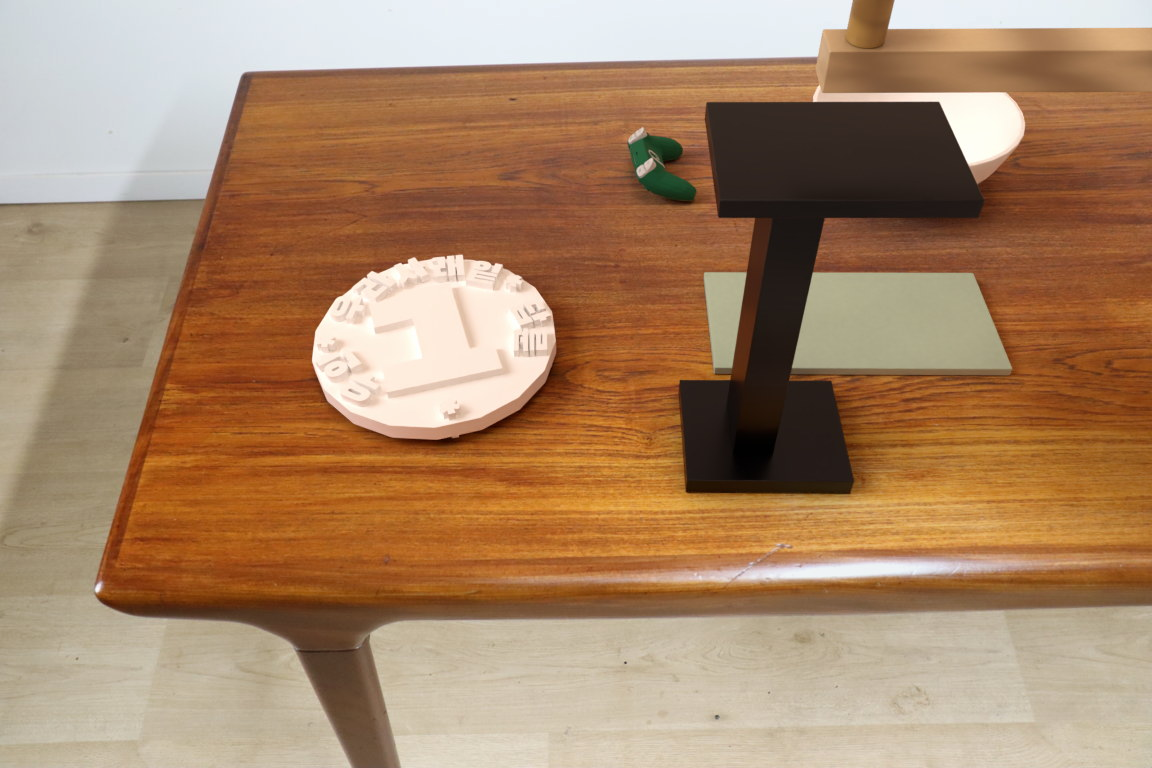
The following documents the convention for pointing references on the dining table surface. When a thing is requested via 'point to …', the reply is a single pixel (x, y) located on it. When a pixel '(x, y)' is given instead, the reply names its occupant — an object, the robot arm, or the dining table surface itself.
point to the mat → (874, 325)
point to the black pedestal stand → (803, 272)
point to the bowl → (963, 122)
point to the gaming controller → (658, 165)
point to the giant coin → (434, 348)
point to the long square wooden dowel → (979, 58)
